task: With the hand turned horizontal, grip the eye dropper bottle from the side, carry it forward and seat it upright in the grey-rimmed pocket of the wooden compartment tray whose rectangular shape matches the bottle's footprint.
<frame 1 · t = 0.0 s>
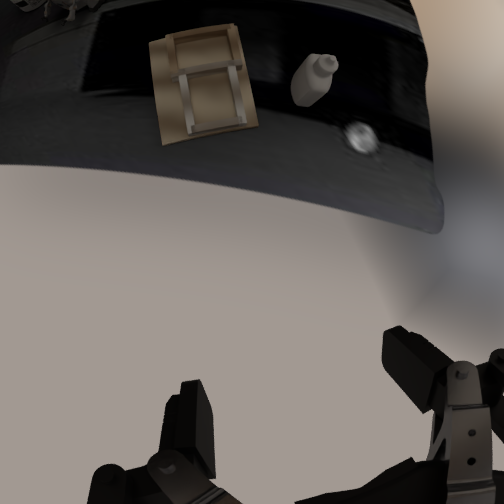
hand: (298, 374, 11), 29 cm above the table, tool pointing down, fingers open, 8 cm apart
eye dropper bottle: (301, 90, 35), on the table
wooden compartment tray: (200, 80, 33), on the table
figurine: (80, 10, 26), on the table
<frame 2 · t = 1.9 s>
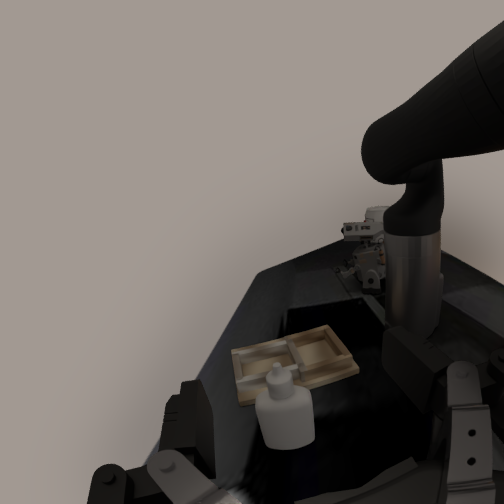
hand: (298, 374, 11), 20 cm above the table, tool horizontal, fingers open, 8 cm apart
supplement can: (382, 262, 72), on the table
eye dropper bottle: (290, 439, 26), on the table
wooden compartment tray: (290, 364, 40), on the table
figurine: (365, 286, 60), on the table
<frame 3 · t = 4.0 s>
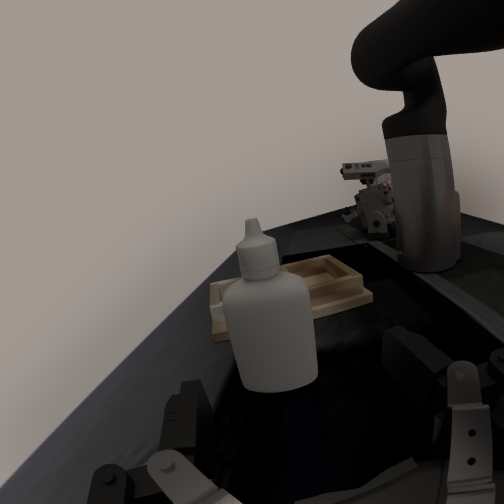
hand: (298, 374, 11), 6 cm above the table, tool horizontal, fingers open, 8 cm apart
supplement can: (387, 219, 65), on the table
eye dropper bottle: (281, 380, 20), on the table
wooden compartment tray: (283, 299, 33), on the table
figurine: (371, 235, 54), on the table
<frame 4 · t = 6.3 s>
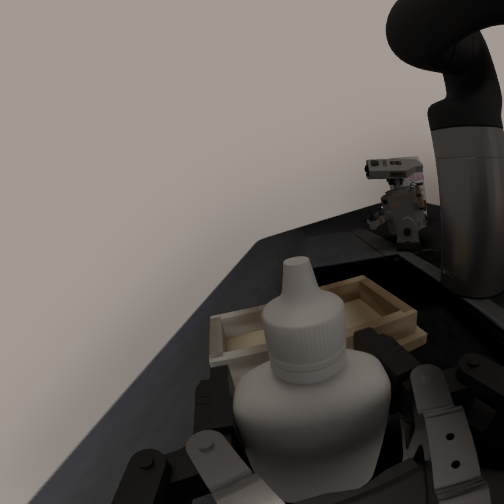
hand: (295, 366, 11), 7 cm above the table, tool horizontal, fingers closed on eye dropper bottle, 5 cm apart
supplement can: (410, 224, 56), on the table
eye dropper bottle: (317, 479, 10), on the table, touching gripper
wooden compartment tray: (307, 337, 24), on the table
figurine: (398, 245, 44), on the table
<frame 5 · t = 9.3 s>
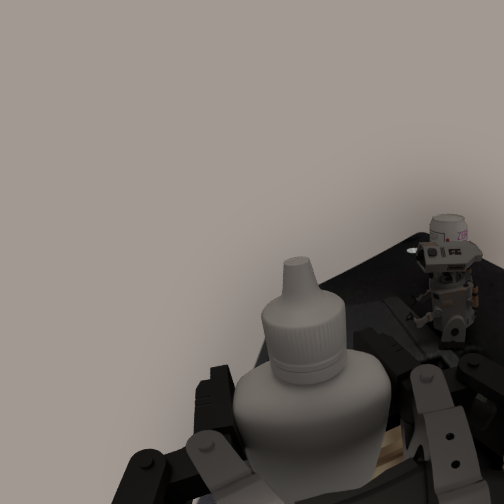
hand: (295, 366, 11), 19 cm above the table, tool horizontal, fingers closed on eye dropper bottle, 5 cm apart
supplement can: (446, 290, 47), on the table
eye dropper bottle: (317, 480, 10), point 12 cm above the table, touching gripper
figurine: (439, 334, 35), on the table
when the fingers open (8 cm above the table, at t = 12.4 s): eye dropper bottle stays where it is, resting on wooden compartment tray.
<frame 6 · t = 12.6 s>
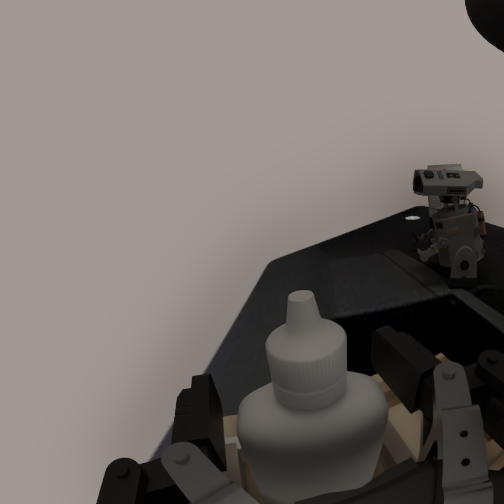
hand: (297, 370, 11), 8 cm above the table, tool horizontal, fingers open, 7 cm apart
supplement can: (449, 244, 44), on the table
eye dropper bottle: (316, 488, 11), point 1 cm above the table, touching wooden compartment tray
wooden compartment tray: (367, 459, 12), on the table
figurine: (446, 277, 32), on the table
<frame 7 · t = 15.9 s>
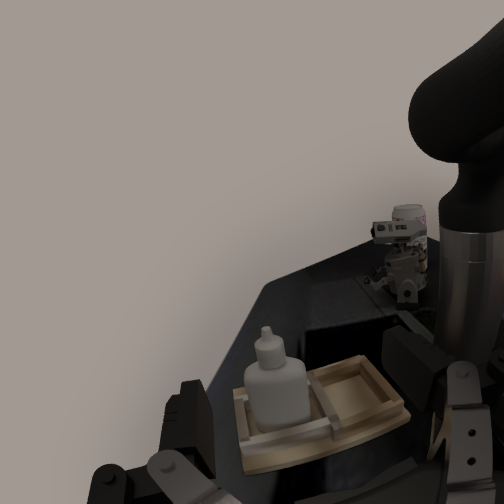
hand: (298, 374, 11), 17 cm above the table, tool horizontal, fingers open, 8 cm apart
supplement can: (411, 270, 59), on the table
eye dropper bottle: (284, 423, 25), point 1 cm above the table, touching wooden compartment tray
wooden compartment tray: (314, 412, 27), on the table
figurine: (398, 300, 47), on the table
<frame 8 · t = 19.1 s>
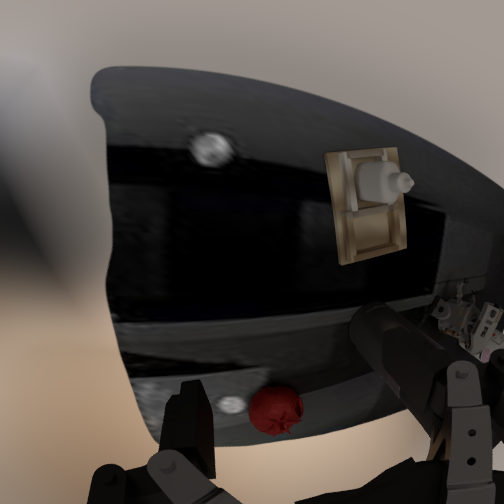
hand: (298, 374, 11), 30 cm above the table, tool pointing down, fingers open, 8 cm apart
supplement can: (466, 330, 52), on the table
eye dropper bottle: (362, 181, 39), point 1 cm above the table, touching wooden compartment tray
wooden compartment tray: (369, 203, 41), on the table
pomegranate: (272, 398, 48), on the table
figurine: (444, 302, 48), on the table
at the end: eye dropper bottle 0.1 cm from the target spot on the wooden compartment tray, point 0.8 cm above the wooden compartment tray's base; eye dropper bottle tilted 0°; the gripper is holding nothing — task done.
